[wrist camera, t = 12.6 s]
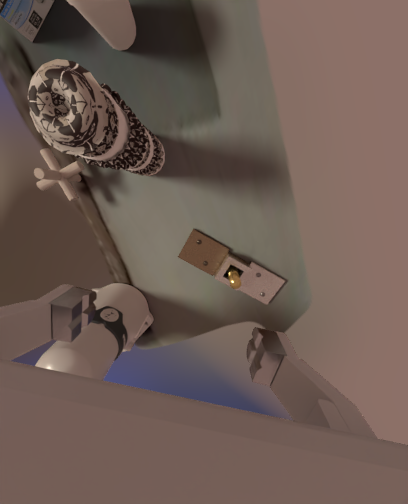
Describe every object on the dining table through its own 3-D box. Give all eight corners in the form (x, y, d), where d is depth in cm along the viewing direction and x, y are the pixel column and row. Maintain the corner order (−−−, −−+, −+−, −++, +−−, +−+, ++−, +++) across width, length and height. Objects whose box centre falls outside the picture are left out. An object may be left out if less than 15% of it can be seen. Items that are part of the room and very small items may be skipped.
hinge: (283, 279, 49) (290, 286, 45) (265, 302, 51) (270, 311, 47) (193, 228, 46) (192, 231, 42) (178, 255, 48) (175, 261, 44)
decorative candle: (116, 144, 41) (-16, 76, 17) (153, 122, 39) (64, 15, 16) (138, 184, 43) (48, 174, 19) (174, 165, 42) (123, 129, 18)
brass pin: (235, 272, 49) (239, 289, 40) (225, 271, 49) (228, 287, 40) (237, 264, 48) (242, 279, 39) (227, 262, 48) (231, 277, 39)
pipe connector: (82, 145, 41) (44, 131, 32) (106, 189, 44) (77, 188, 34) (46, 165, 43) (-1, 157, 33) (71, 207, 45) (34, 210, 36)
